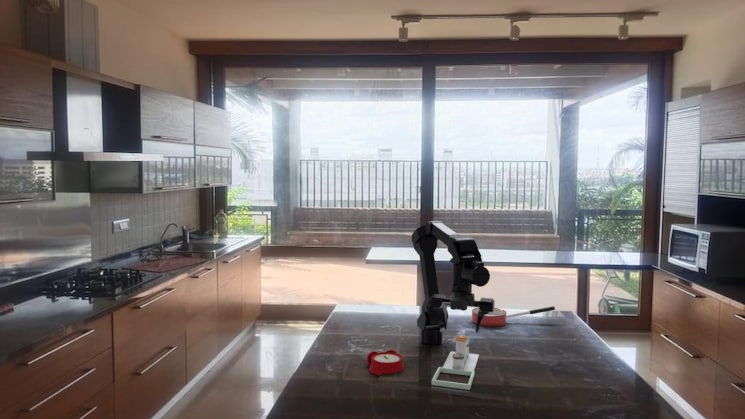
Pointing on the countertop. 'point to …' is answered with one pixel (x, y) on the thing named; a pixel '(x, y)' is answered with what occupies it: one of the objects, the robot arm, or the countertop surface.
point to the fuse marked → (461, 345)
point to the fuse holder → (461, 360)
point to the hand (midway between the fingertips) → (461, 331)
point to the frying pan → (502, 316)
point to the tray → (453, 384)
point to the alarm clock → (385, 362)
